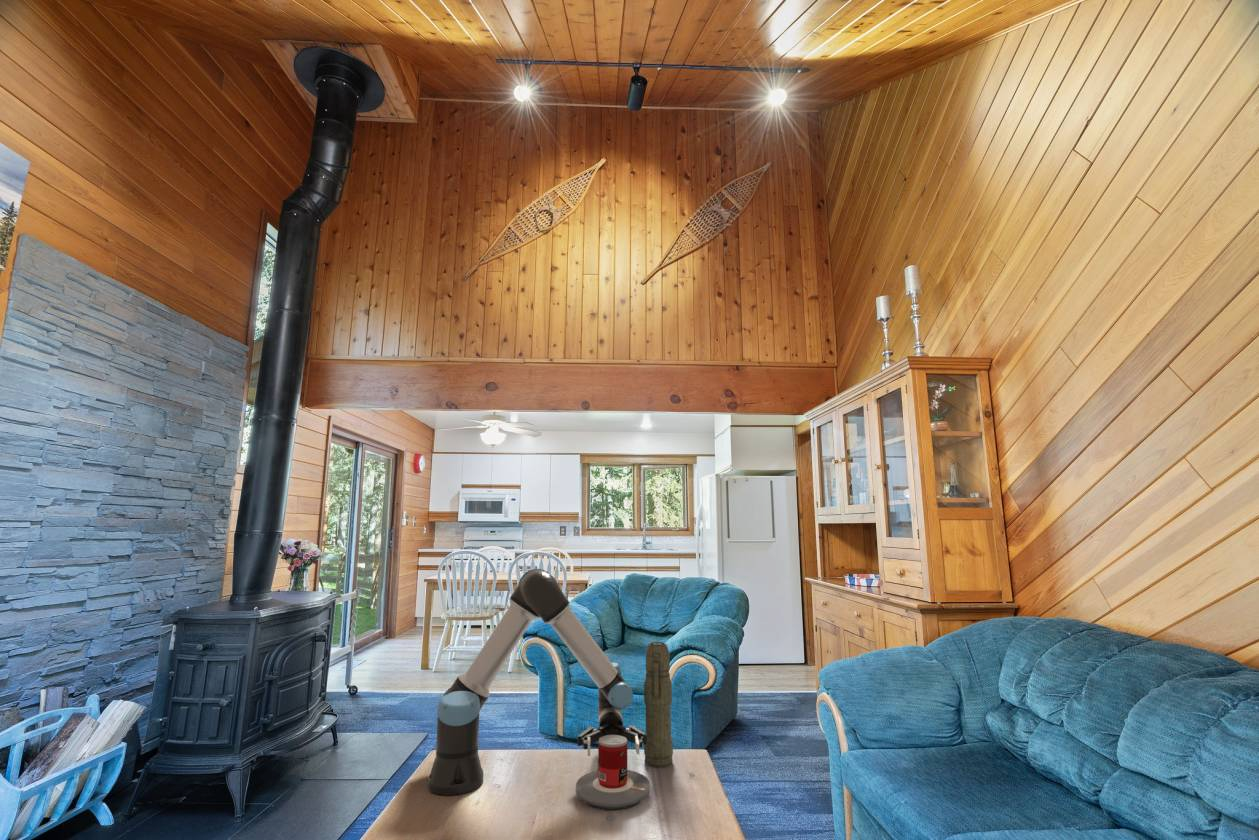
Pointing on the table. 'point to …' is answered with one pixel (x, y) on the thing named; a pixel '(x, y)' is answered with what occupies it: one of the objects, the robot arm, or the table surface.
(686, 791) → the table surface
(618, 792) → the turntable
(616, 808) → the turntable base
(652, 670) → the olive brown statue
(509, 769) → the table surface
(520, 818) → the table surface
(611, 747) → the canned food
